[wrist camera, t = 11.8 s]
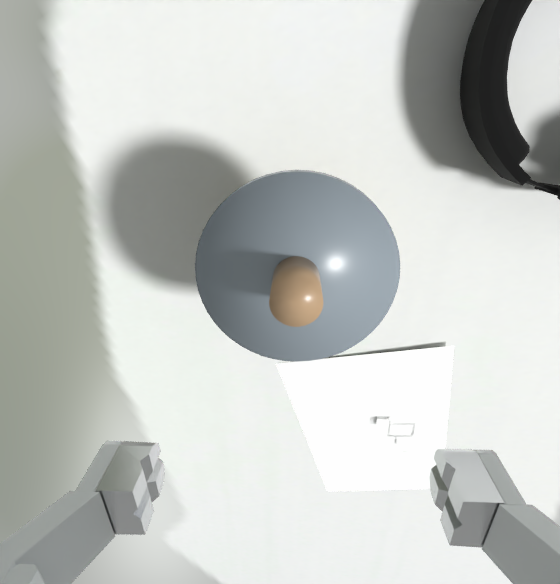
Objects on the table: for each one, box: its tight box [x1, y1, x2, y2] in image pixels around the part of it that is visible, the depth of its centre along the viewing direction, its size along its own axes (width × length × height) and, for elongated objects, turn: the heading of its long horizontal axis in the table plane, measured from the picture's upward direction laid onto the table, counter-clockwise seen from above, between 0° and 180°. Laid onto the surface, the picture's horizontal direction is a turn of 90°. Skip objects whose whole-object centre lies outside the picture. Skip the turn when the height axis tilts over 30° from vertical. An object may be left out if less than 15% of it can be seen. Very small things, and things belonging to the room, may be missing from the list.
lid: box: [195, 170, 400, 362], centre depth 22 cm, size 13×13×4 cm
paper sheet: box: [275, 346, 454, 492], centre depth 42 cm, size 24×29×1 cm
